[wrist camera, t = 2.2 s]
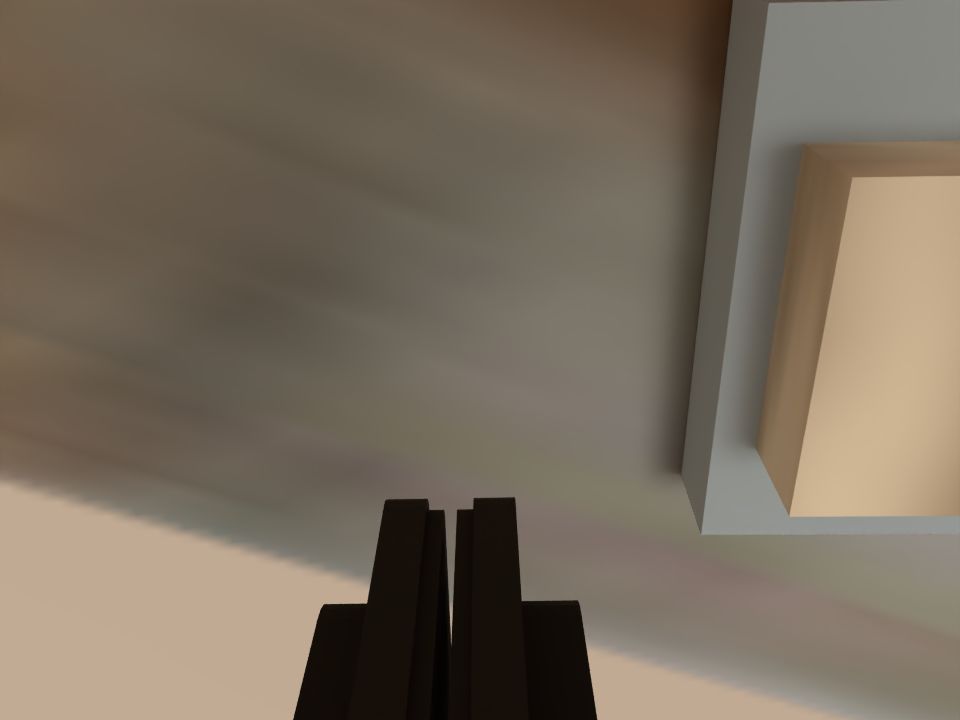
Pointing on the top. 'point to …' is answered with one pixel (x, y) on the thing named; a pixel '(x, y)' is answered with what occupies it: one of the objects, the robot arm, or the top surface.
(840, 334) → the birch tile
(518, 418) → the top surface
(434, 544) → the robot arm
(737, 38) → the block
